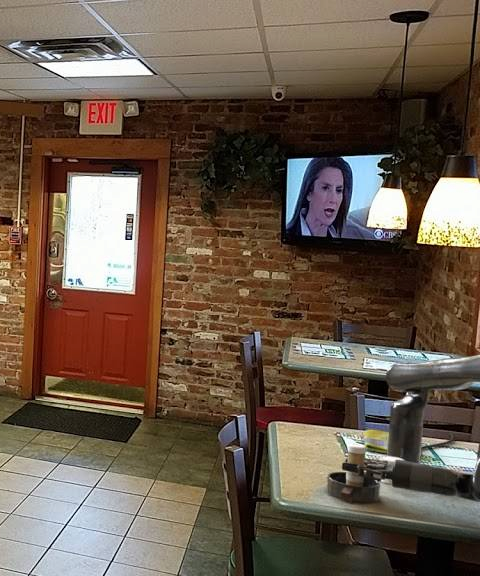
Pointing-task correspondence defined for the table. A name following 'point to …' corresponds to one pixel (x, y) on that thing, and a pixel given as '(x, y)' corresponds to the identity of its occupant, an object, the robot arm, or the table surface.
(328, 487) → the pan
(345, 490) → the pan handle
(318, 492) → the table surface
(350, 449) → the sprinkles bottle
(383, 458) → the white cup
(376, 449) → the dish towel
